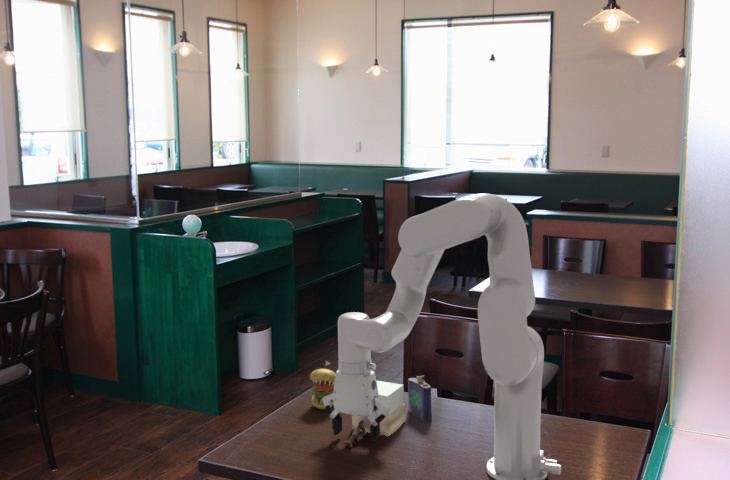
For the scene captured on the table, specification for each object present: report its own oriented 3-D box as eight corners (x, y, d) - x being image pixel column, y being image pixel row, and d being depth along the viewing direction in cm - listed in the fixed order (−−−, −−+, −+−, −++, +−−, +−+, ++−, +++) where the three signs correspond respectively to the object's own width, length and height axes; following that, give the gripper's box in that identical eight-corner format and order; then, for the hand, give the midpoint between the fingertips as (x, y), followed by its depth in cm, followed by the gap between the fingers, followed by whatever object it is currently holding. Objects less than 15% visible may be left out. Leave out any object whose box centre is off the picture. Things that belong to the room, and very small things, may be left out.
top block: (403, 403, 175) (403, 384, 174) (388, 416, 167) (387, 396, 166) (372, 398, 179) (371, 379, 179) (355, 410, 171) (354, 390, 171)
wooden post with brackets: (370, 432, 168) (366, 418, 165) (354, 456, 162) (349, 442, 160) (364, 430, 169) (359, 416, 166) (348, 455, 163) (343, 441, 161)
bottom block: (405, 422, 176) (405, 403, 175) (389, 437, 167) (389, 417, 166) (370, 416, 180) (369, 398, 179) (352, 430, 171) (351, 411, 171)
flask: (406, 411, 183) (406, 371, 181) (415, 408, 184) (415, 369, 183) (425, 423, 175) (425, 382, 173) (435, 420, 176) (435, 380, 175)
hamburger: (306, 409, 185) (304, 366, 183) (315, 400, 192) (314, 358, 190) (333, 412, 182) (332, 368, 181) (342, 402, 189) (341, 360, 188)
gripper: (395, 366, 161) (396, 436, 163) (329, 357, 169) (331, 424, 171) (381, 375, 155) (382, 449, 157) (314, 366, 162) (316, 436, 164)
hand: (356, 436), depth 164 cm, fingers open, 9 cm apart
